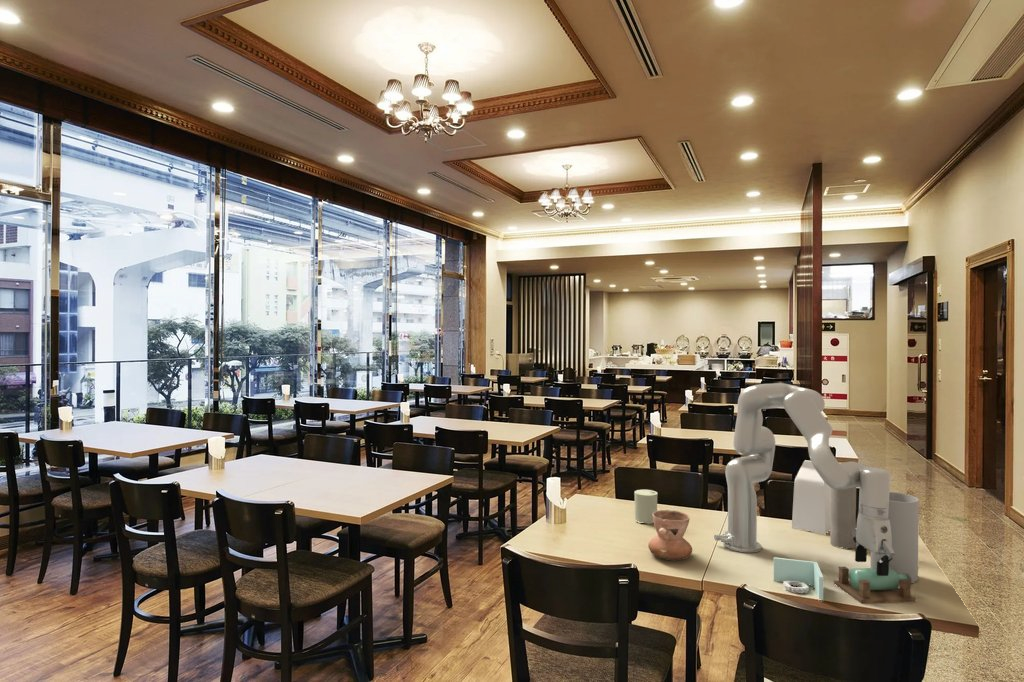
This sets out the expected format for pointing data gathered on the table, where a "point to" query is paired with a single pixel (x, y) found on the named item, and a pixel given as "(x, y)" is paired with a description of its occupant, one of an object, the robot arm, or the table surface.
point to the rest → (874, 595)
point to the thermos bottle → (843, 517)
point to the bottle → (877, 579)
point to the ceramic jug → (670, 535)
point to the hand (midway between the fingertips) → (871, 568)
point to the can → (645, 505)
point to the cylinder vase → (903, 534)
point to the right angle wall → (798, 575)
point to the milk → (811, 501)
